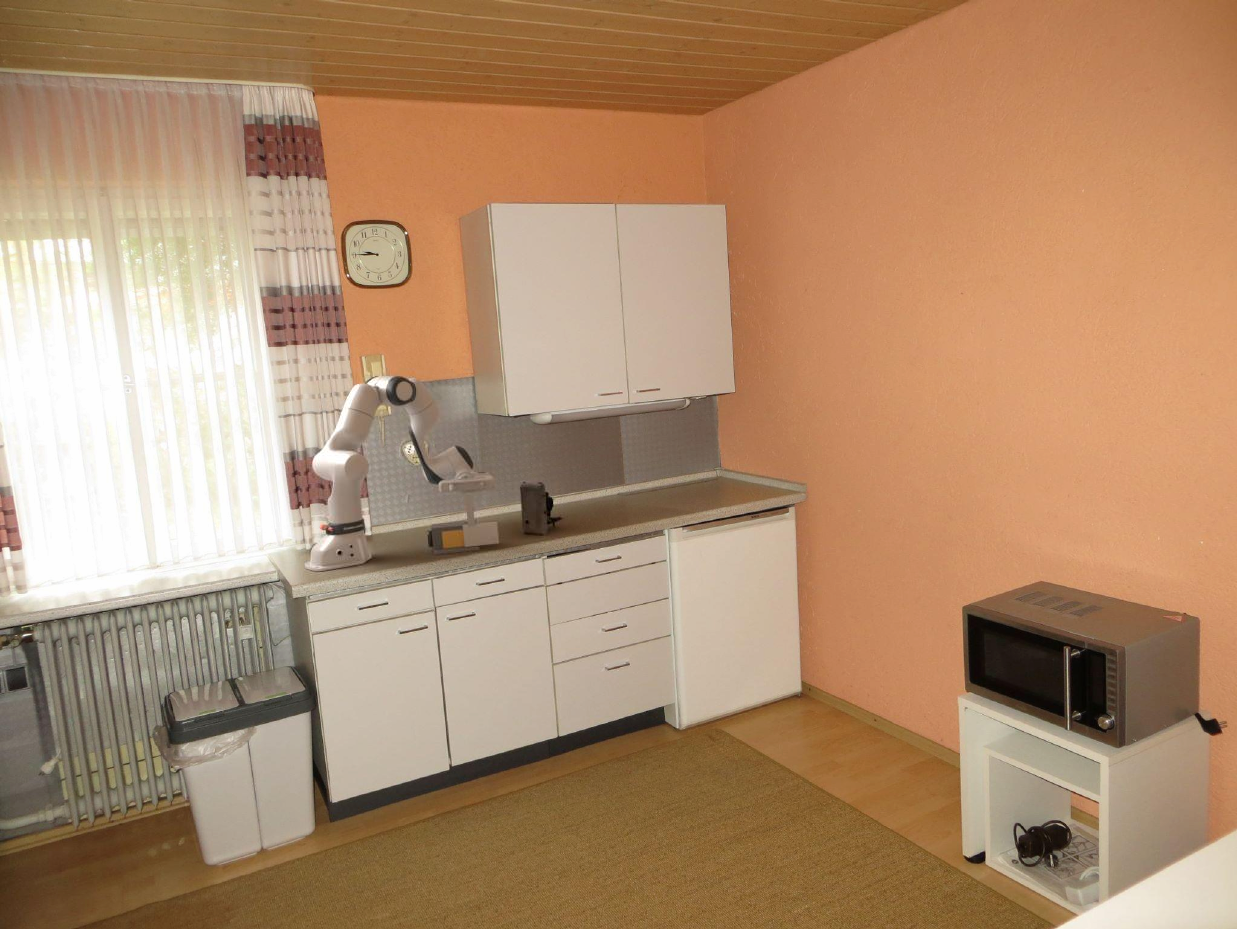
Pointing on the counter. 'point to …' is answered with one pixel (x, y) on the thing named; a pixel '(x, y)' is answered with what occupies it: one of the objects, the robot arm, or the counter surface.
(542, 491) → the vintage camera
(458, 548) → the camera housing
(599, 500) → the counter surface
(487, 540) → the side door
